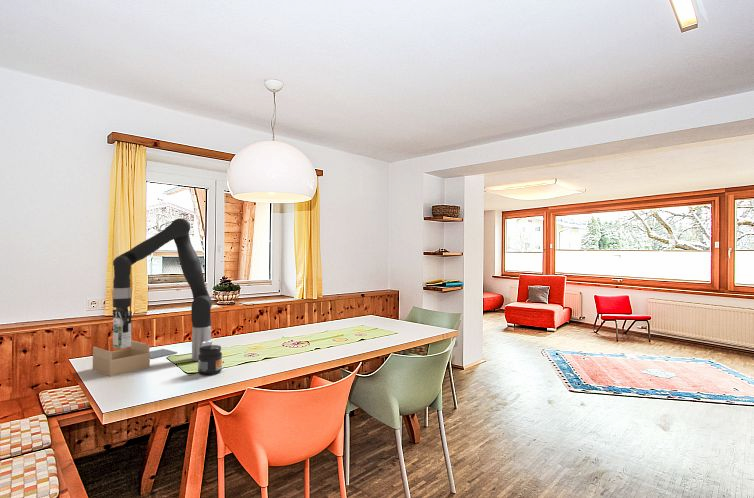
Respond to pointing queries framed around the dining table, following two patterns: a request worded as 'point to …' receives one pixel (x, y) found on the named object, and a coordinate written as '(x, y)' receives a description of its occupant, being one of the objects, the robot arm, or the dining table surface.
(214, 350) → the supplement container
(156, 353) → the mat
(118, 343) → the syrup box
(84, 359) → the dining table surface
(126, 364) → the carton
